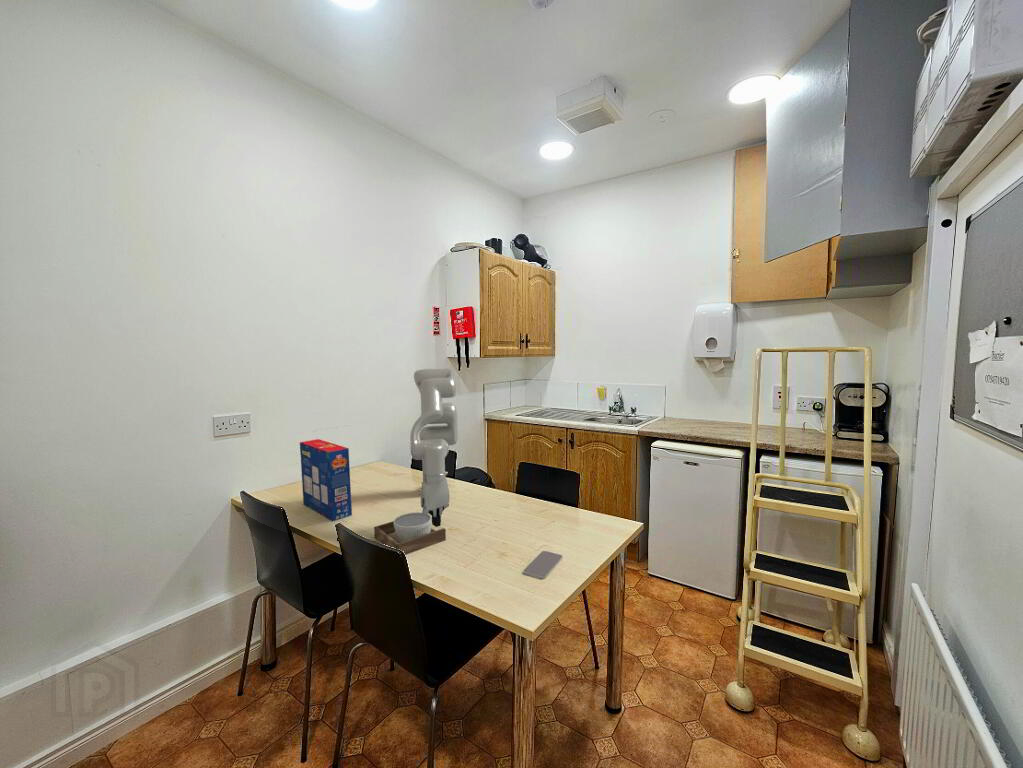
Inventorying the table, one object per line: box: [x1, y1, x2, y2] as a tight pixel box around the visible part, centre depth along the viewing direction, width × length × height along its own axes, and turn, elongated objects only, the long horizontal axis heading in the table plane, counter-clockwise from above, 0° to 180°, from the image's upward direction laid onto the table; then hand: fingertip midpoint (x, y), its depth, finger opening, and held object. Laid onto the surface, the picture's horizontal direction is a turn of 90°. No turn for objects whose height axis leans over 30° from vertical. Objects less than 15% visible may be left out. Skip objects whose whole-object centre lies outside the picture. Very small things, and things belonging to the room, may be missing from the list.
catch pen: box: [373, 520, 447, 555], centre depth 147 cm, size 19×18×4 cm
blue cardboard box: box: [299, 438, 353, 522], centre depth 174 cm, size 28×8×28 cm, turn 48°
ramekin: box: [393, 511, 432, 543], centre depth 147 cm, size 13×13×7 cm
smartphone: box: [522, 550, 563, 580], centre depth 128 cm, size 7×1×15 cm
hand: (436, 525), depth 154 cm, fingers closed
